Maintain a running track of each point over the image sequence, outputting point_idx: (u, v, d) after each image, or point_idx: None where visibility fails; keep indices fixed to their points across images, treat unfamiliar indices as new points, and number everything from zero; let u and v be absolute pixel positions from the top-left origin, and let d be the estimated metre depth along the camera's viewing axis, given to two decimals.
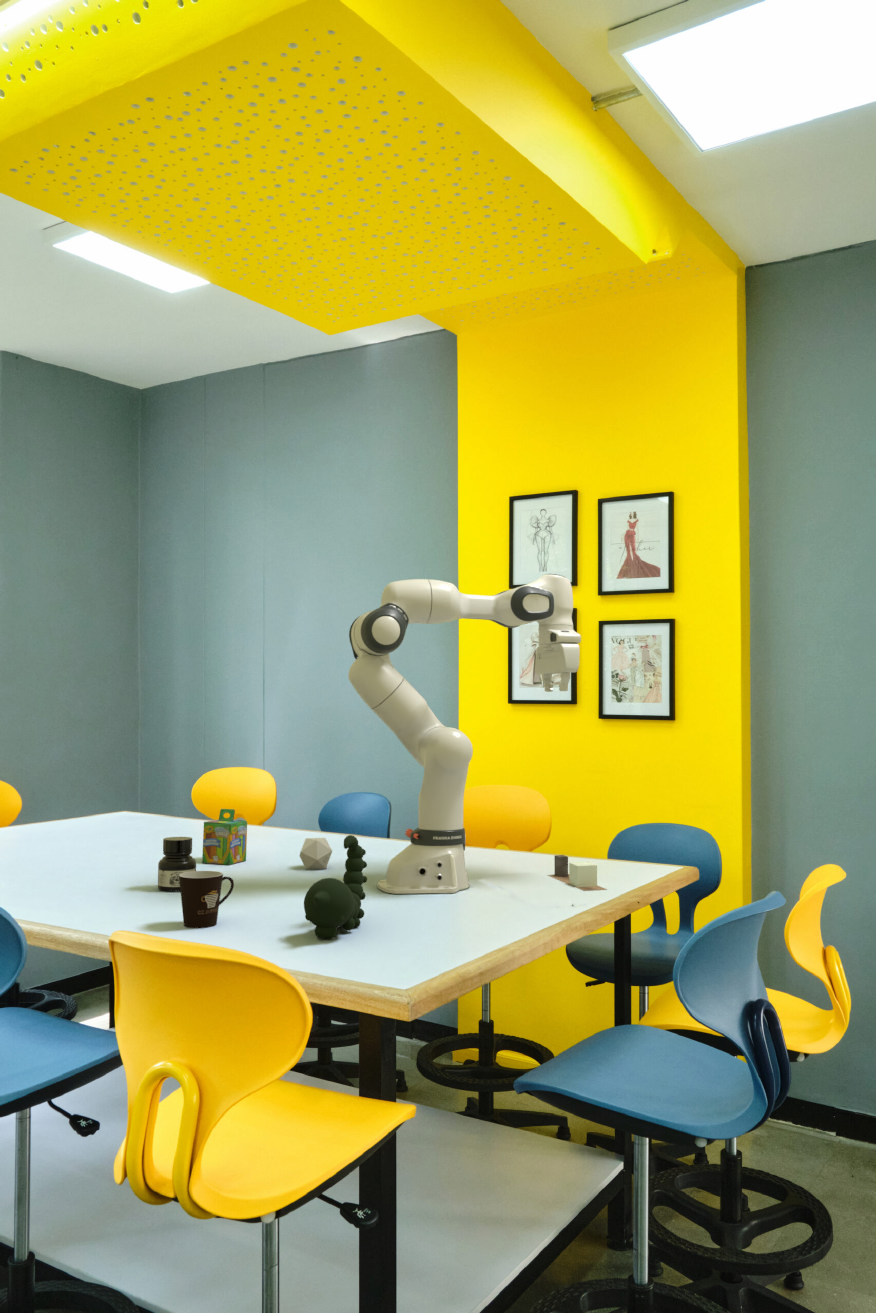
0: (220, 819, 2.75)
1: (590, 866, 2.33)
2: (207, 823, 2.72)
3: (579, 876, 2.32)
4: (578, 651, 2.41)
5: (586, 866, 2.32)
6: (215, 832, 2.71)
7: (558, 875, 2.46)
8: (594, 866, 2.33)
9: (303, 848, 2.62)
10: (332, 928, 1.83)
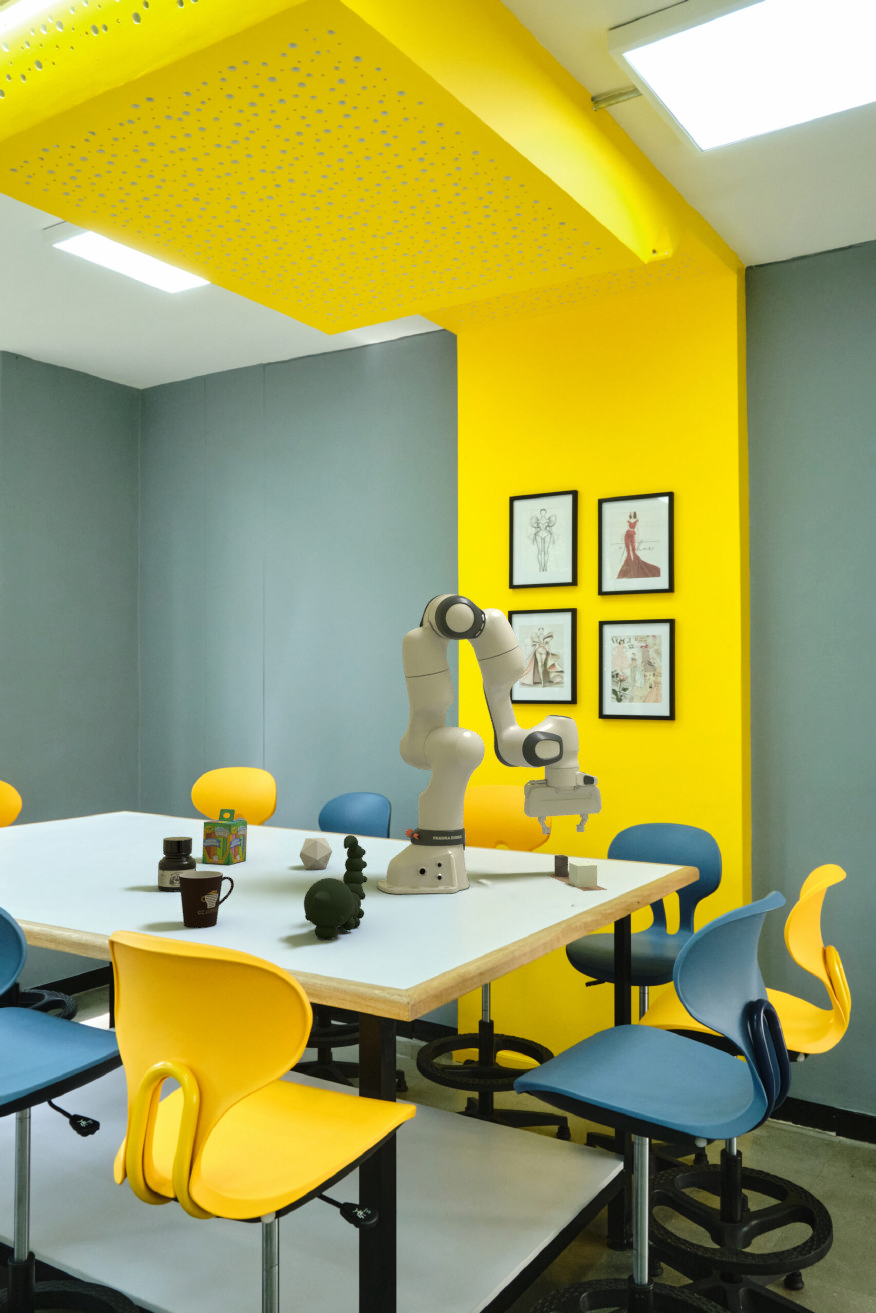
0: (220, 819, 2.75)
1: (590, 866, 2.33)
2: (207, 823, 2.72)
3: (579, 876, 2.32)
4: None
5: (586, 866, 2.32)
6: (215, 832, 2.71)
7: (558, 875, 2.46)
8: (594, 866, 2.33)
9: (303, 848, 2.62)
10: (332, 928, 1.83)
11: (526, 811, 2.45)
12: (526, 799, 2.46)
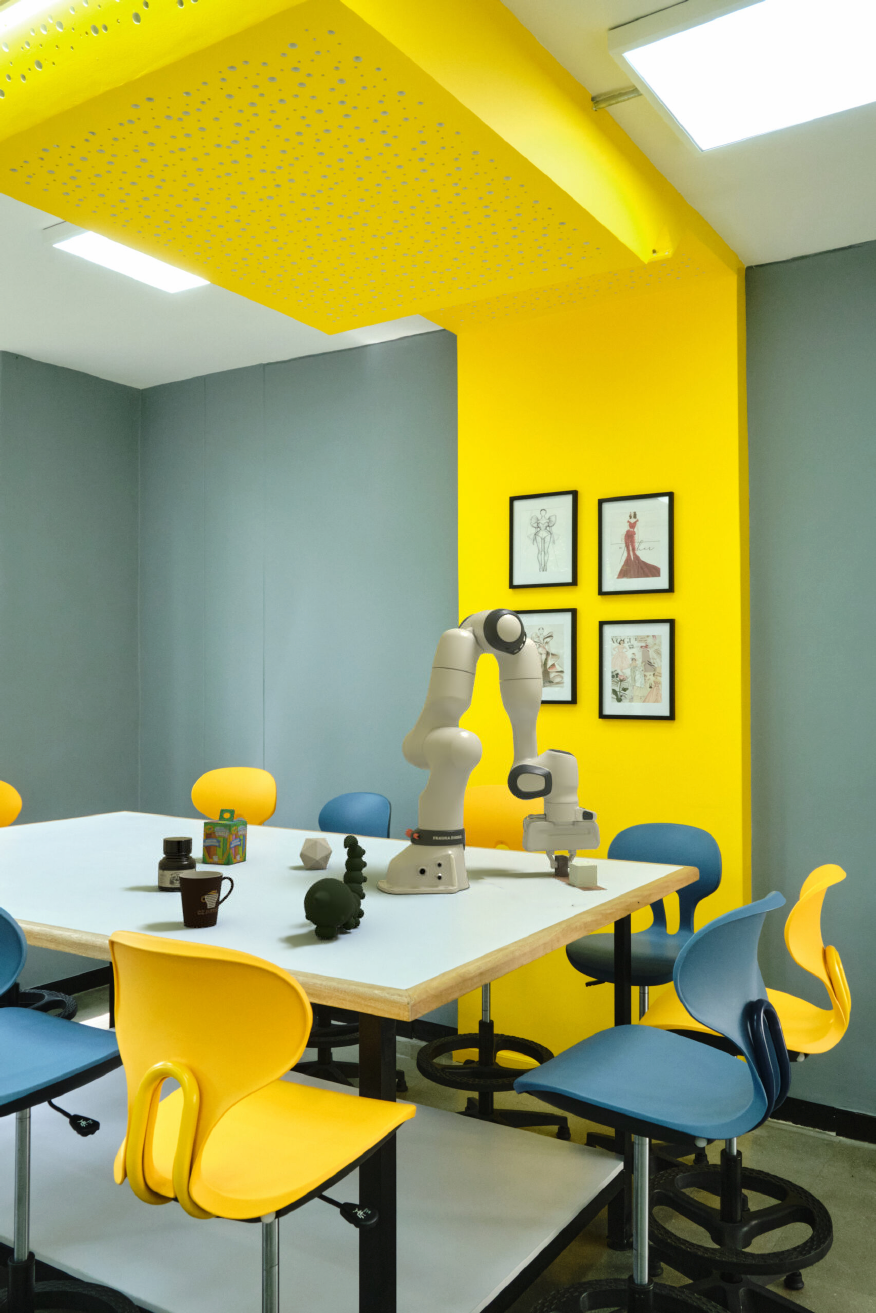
0: (220, 819, 2.75)
1: (590, 866, 2.33)
2: (207, 823, 2.72)
3: (579, 876, 2.32)
4: None
5: (586, 866, 2.32)
6: (215, 832, 2.71)
7: (558, 875, 2.46)
8: (594, 866, 2.33)
9: (303, 848, 2.62)
10: (332, 928, 1.83)
11: (524, 846, 2.44)
12: (525, 833, 2.45)
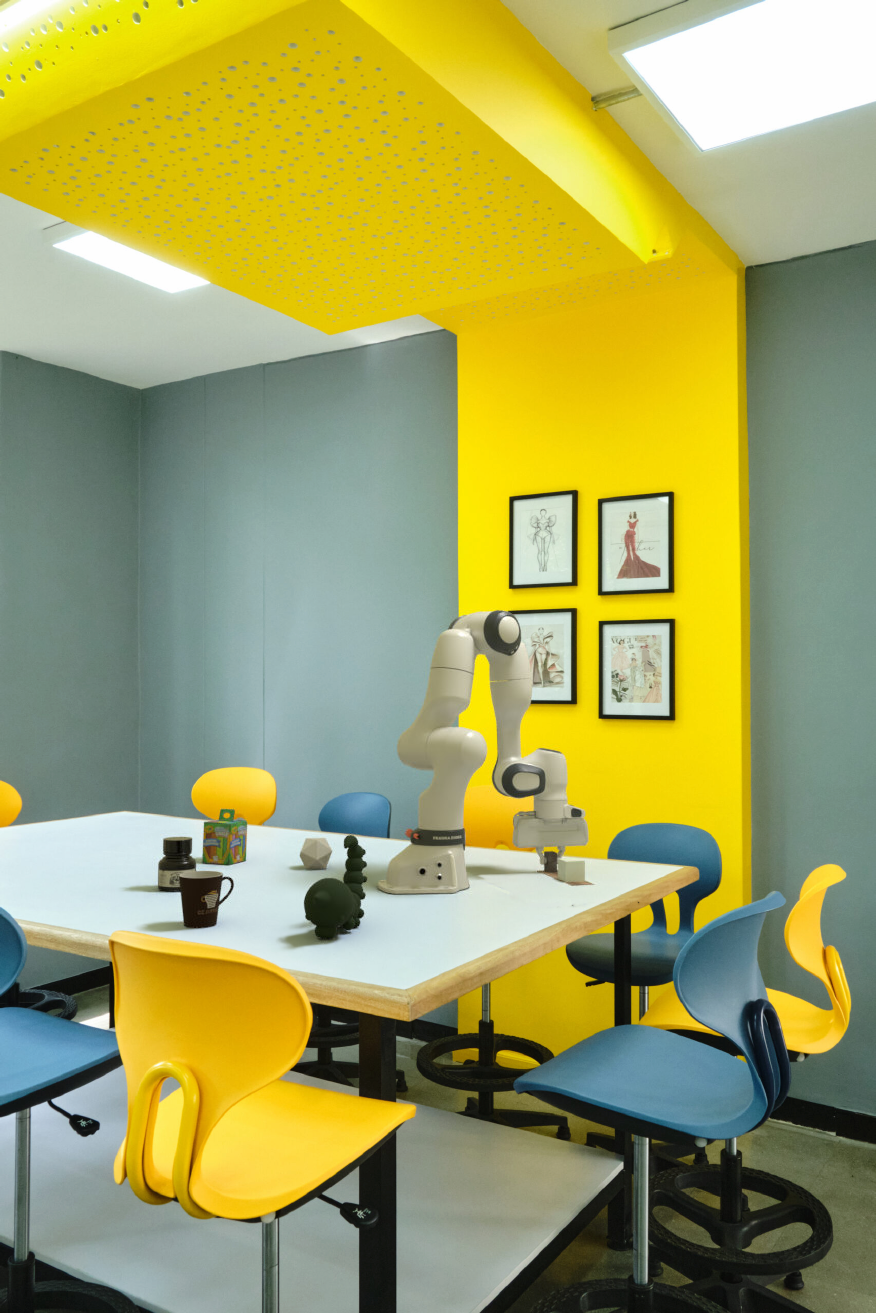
0: (220, 819, 2.75)
1: (578, 862, 2.39)
2: (207, 823, 2.72)
3: (568, 871, 2.38)
4: None
5: (574, 862, 2.39)
6: (215, 832, 2.71)
7: (547, 871, 2.52)
8: (582, 862, 2.39)
9: (303, 848, 2.62)
10: (332, 928, 1.83)
11: (514, 842, 2.51)
12: (515, 830, 2.52)
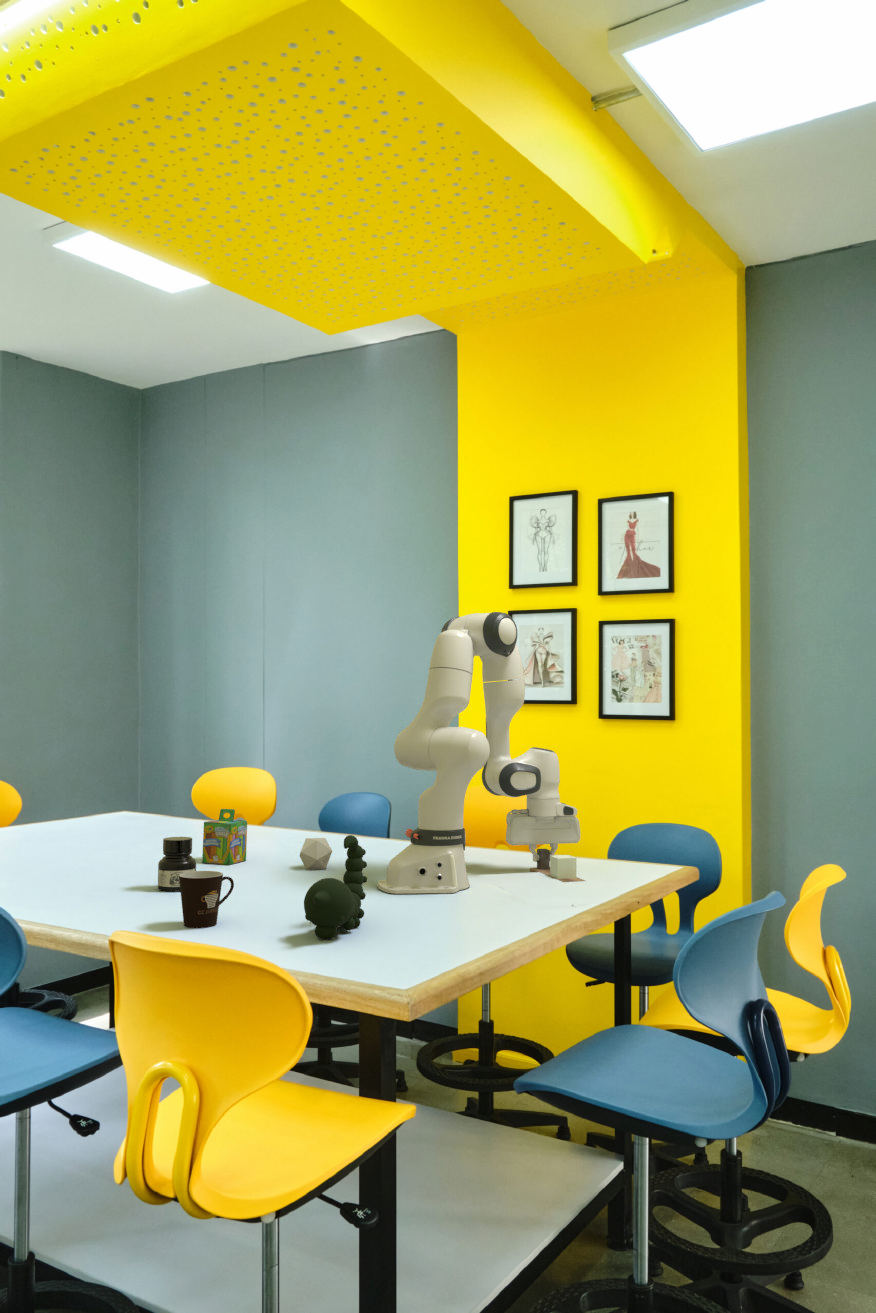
0: (220, 819, 2.75)
1: (570, 859, 2.44)
2: (207, 823, 2.72)
3: (559, 868, 2.43)
4: None
5: (566, 859, 2.44)
6: (215, 832, 2.71)
7: (540, 868, 2.57)
8: (573, 859, 2.44)
9: (303, 848, 2.62)
10: (332, 928, 1.83)
11: (508, 840, 2.56)
12: (508, 828, 2.56)
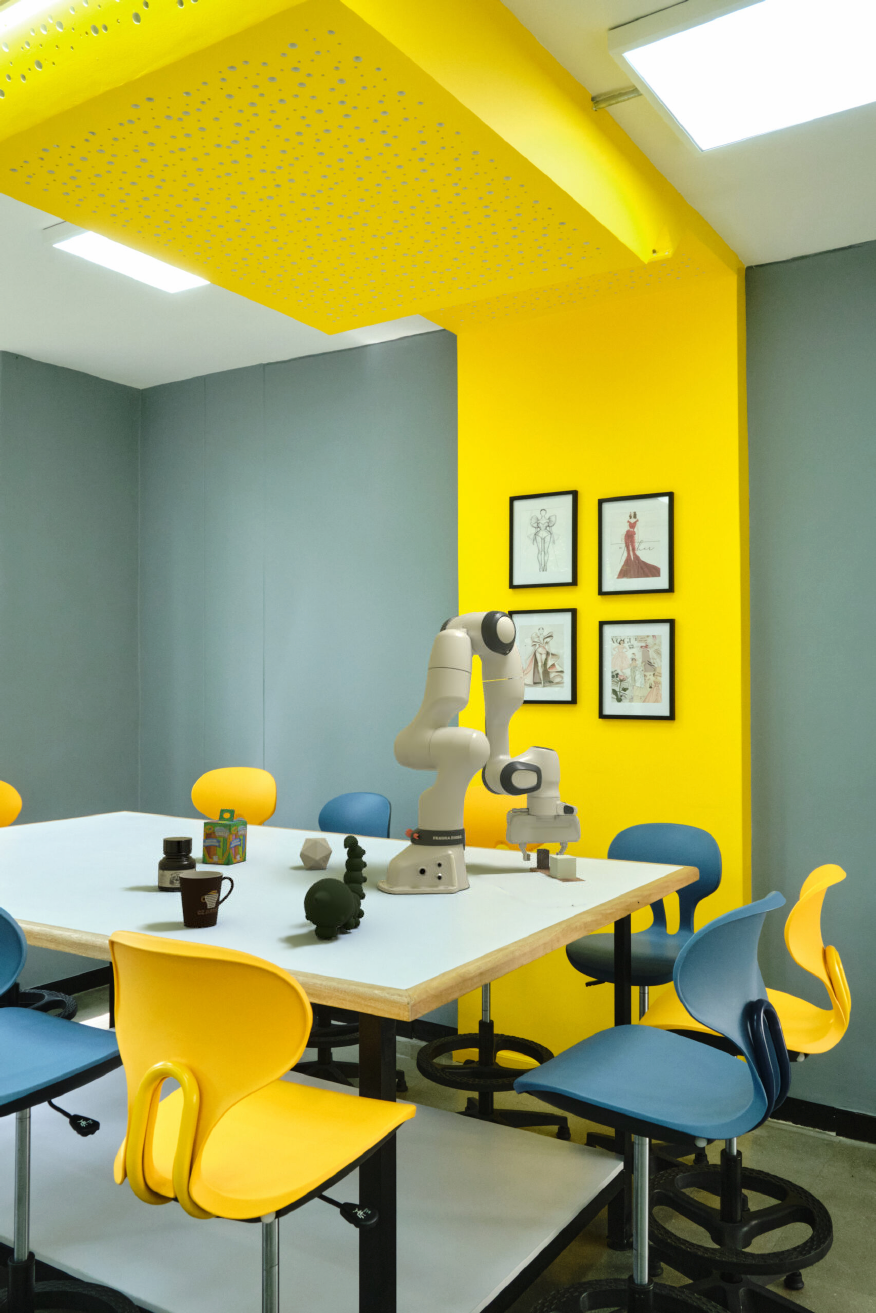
0: (220, 819, 2.75)
1: (569, 858, 2.44)
2: (207, 823, 2.72)
3: (559, 868, 2.43)
4: None
5: (566, 858, 2.44)
6: (215, 832, 2.71)
7: (540, 867, 2.57)
8: (573, 859, 2.44)
9: (303, 848, 2.62)
10: (332, 928, 1.83)
11: (508, 838, 2.55)
12: (508, 826, 2.56)
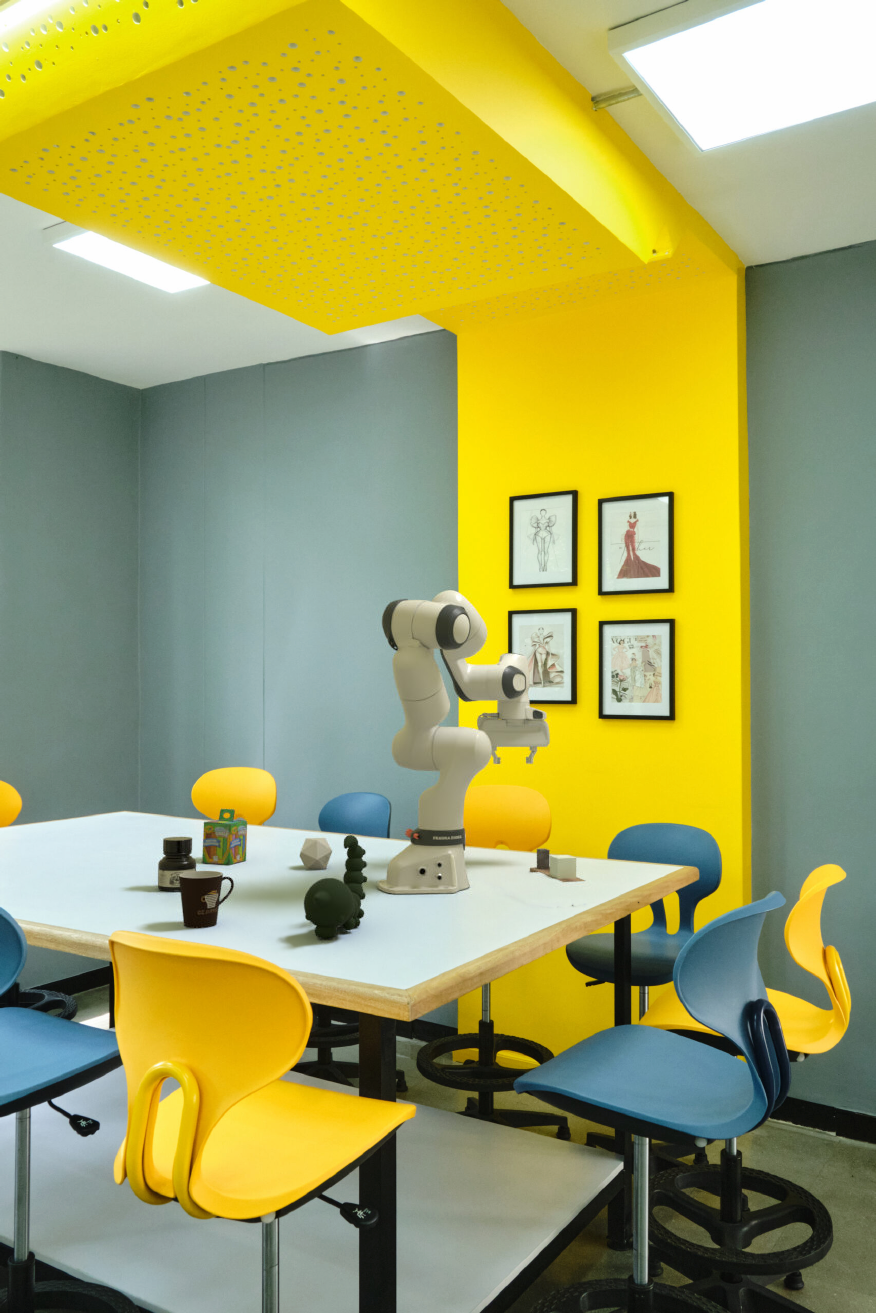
0: (220, 819, 2.75)
1: (569, 858, 2.44)
2: (207, 823, 2.72)
3: (559, 868, 2.43)
4: None
5: (566, 858, 2.44)
6: (215, 832, 2.71)
7: (540, 867, 2.57)
8: (573, 859, 2.44)
9: (303, 848, 2.62)
10: (332, 928, 1.83)
11: None
12: None
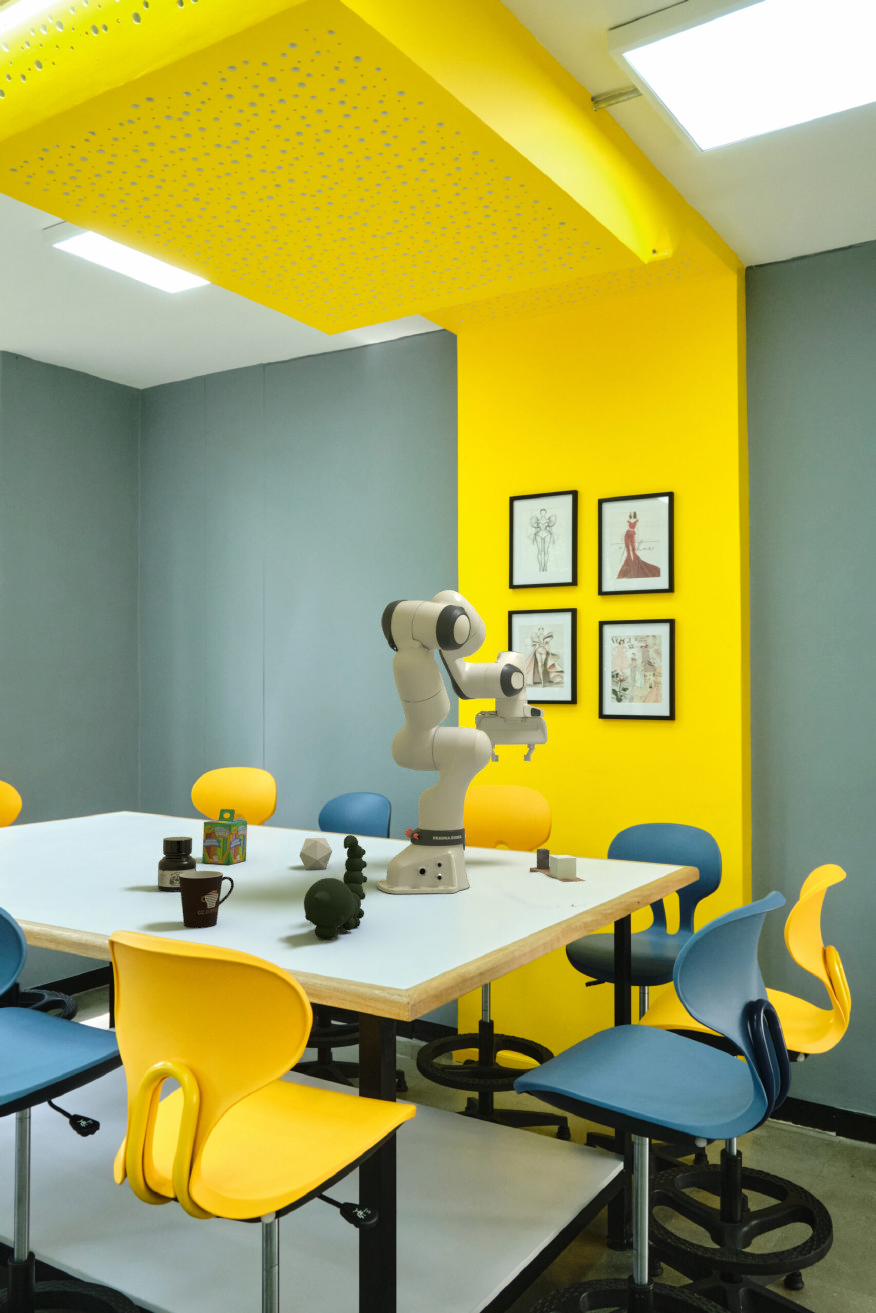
0: (220, 819, 2.75)
1: (569, 858, 2.44)
2: (207, 823, 2.72)
3: (559, 868, 2.43)
4: None
5: (566, 858, 2.44)
6: (215, 832, 2.71)
7: (540, 867, 2.57)
8: (573, 859, 2.44)
9: (303, 848, 2.62)
10: (332, 928, 1.83)
11: None
12: (477, 728, 2.64)
